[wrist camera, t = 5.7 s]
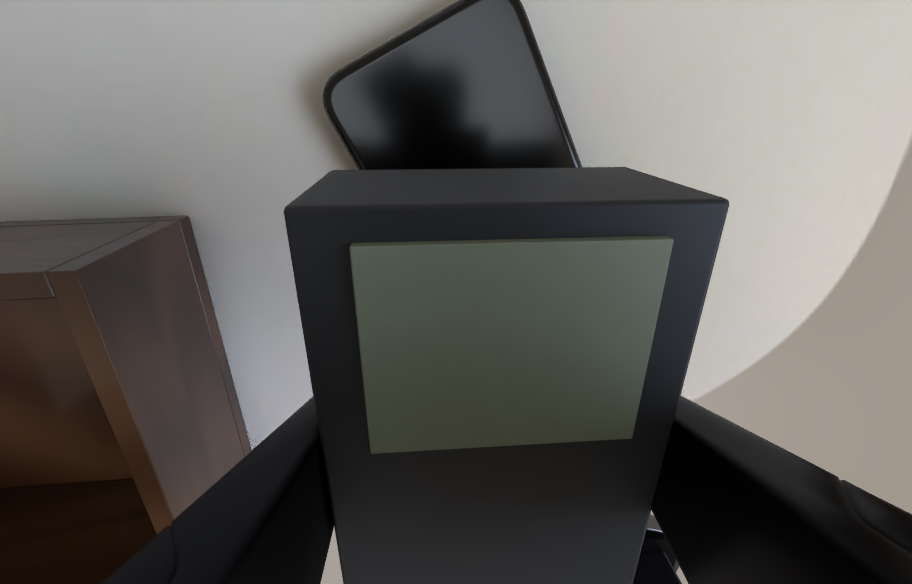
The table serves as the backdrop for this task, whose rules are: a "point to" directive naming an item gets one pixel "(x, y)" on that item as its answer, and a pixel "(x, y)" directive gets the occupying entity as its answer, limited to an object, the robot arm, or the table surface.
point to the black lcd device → (497, 363)
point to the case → (105, 392)
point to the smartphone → (453, 96)
